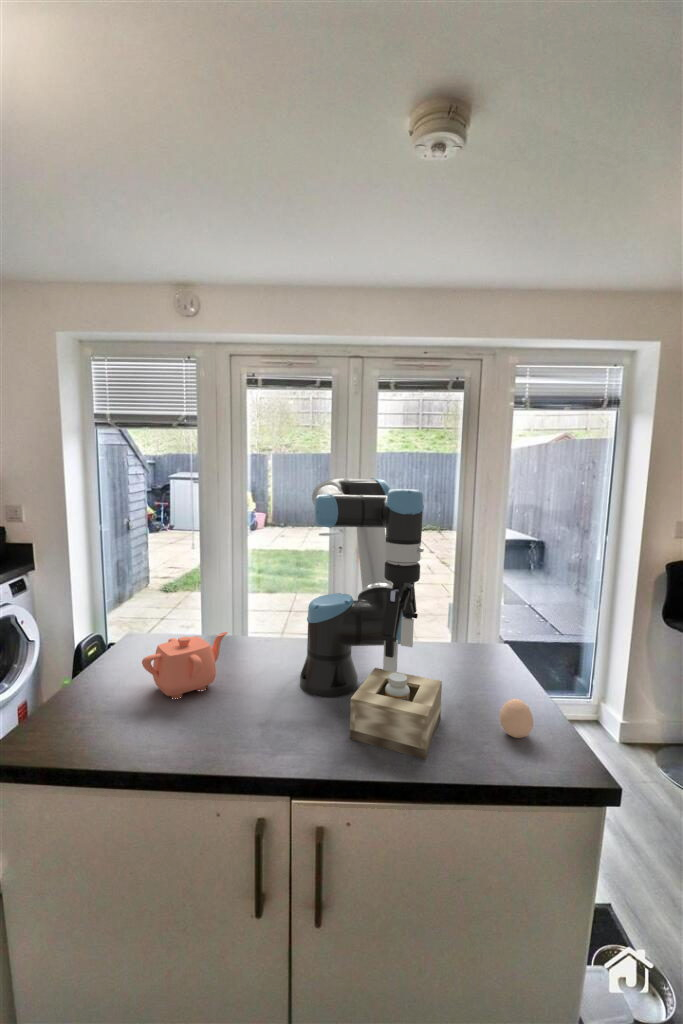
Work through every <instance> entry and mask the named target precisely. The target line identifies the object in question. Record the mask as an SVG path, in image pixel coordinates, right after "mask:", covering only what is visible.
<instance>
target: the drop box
mask: <svg viewBox="0 0 683 1024" xmlns="http://www.w3.org/2000/svg"><path fill="white" fill-rule="evenodd" d="M392 673H395V672H391V671H386V670H383V668H379V667H374V668H373V670H372V671H371V672H370V673H369V675H368V676H367V677H366V678H365V680H364V681H363V683H362V684H361V685H360V686H359V687H358V688H357V690H356V691H355V692H354V693H353V695H352V696H351V697H350V709H349V710H350V717H349V719H350V720H349V721H350V722H349V739H350V740H354V741H357V742H360V743H365V744H368V745H371V746H375V747H378V748H382V749H387V750H389V751H393V752H394V751H395V752H397V753H401V754H404V755H408V756H412V757H415V758H419V759H423V760H427V757H428V754H429V752H430V749H431V746H432V743H433V740H434V739H435V734H436V732H437V729H438V725H439V723H440V720H441V712H442V711H441V710H442V708H441V706H442V687H443V683H442V682H443V681H442V680H440V679H434V678H429V677H424V676H419V675H414V674H409V673H408V674H407V673H404V672H403V673H402V672H398V671H397V672H396V673H401V674H404V675H406V676H407V686H408V687H409V689H410V698H409V701H405V700H401V699H397V698H392V697H388V696H385V687H386V685H387V684H388V683H389V681H388V680H389V675H390V674H392Z"/></svg>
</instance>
